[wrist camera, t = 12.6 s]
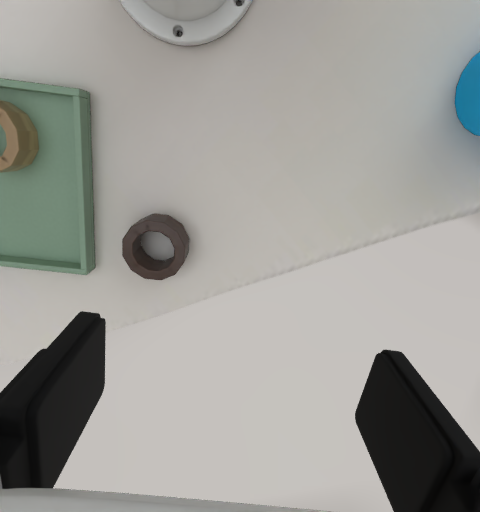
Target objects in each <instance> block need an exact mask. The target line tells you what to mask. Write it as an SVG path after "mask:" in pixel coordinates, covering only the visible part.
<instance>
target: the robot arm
mask: <svg viewBox="0 0 480 512" xmlns="http://www.w3.org/2000/svg"><path fill="white" fill-rule="evenodd" d="M119 1H120V3H121V5H122V6H123V8H124V9H125V10H126V11H127V13H128V14H129V15H130V16H131V18H132V19H133V20H134V21H135V22H137V23H138V24H139V25H140V26H141V27H142V28H143V29H144V30H145V31H147V32H148V33H150V34H151V35H153V36H154V37H156V38H158V39H161V40H163V41H165V42H168V43H171V44H177V45H182V46H192V45H200V44H204V43H208V42H211V41H213V40H215V39H217V38H219V37H221V36H223V35H224V34H225V33H227V32H228V31H229V30H230V29H232V28H233V27H234V26H235V25H236V24H237V23H238V21H239V20H240V19H241V18H242V17H243V16H244V14H245V13H246V11H247V9H248V7H249V6H250V4H251V2H252V0H119ZM237 1H240V2H241V3H242V5H241V6H237V5H236V2H237ZM179 31H181V32H182V36H181V37H178V36H177V33H178V32H179ZM105 324H106V323H105V319H103V318H101V317H100V314H99V313H91V312H83V311H82V312H80V313H78V315H77V316H76V317H75V318H74V319H73V320H72V321H71V322H70V323H69V325H68V326H67V327H66V328H65V329H64V330H63V331H62V332H61V333H60V335H59V336H58V337H57V338H56V339H55V340H54V341H53V342H52V343H51V345H50V346H49V347H48V348H47V349H42V350H40V351H39V352H38V353H37V354H36V355H35V356H34V357H33V358H32V359H31V360H30V362H28V364H27V365H26V366H25V367H24V368H23V369H22V370H21V371H20V372H19V373H18V374H17V375H16V377H15V378H14V379H13V380H12V381H11V382H10V383H9V384H8V385H7V386H6V387H5V388H4V389H3V391H2V392H1V393H0V512H330V511H320V510H308V509H298V508H287V507H276V506H265V505H254V504H244V503H232V502H221V501H210V500H199V499H186V498H175V497H163V496H151V495H139V494H128V493H116V492H100V491H86V490H69V489H53V487H54V485H55V483H56V481H57V479H58V477H59V475H60V473H61V471H62V469H63V468H64V466H65V464H66V462H67V460H68V458H69V456H70V454H71V452H72V450H73V449H74V447H75V445H76V443H77V441H78V439H79V437H80V435H81V433H82V431H83V429H84V428H85V426H86V424H87V422H88V420H89V418H90V416H91V414H92V412H93V410H94V408H95V406H96V405H97V403H98V401H99V399H100V397H101V395H102V393H103V389H104V384H105ZM355 419H356V424H357V426H358V428H359V431H360V433H361V435H362V438H363V440H364V442H365V445H366V447H367V450H368V452H369V454H370V457H371V459H372V461H373V464H374V466H375V468H376V471H377V473H378V475H379V478H380V480H381V483H382V485H383V487H384V489H385V492H386V494H387V497H388V499H389V501H390V504H391V506H392V508H393V511H394V512H480V452H479V450H478V449H477V448H476V446H475V445H474V444H473V443H472V441H471V440H470V439H469V437H468V436H467V435H466V434H465V432H464V431H463V430H462V428H461V427H460V426H459V425H458V423H457V422H456V421H455V419H454V418H453V417H452V416H451V414H450V413H449V412H448V410H447V409H446V408H445V407H444V405H443V404H442V403H441V402H440V400H439V399H438V398H437V397H436V395H435V394H434V393H433V392H432V390H431V389H430V387H429V386H428V385H427V384H426V382H425V381H424V380H423V379H422V377H421V376H420V375H419V373H418V372H417V371H416V369H415V368H414V367H413V366H412V364H411V363H410V362H409V360H408V359H407V358H406V357H405V355H404V354H403V353H402V352H399V351H391V350H383V351H382V352H381V353H378V354H377V355H376V357H375V359H374V362H373V365H372V368H371V371H370V373H369V376H368V379H367V382H366V384H365V387H364V390H363V393H362V395H361V398H360V401H359V404H358V407H357V409H356V413H355Z"/></svg>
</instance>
